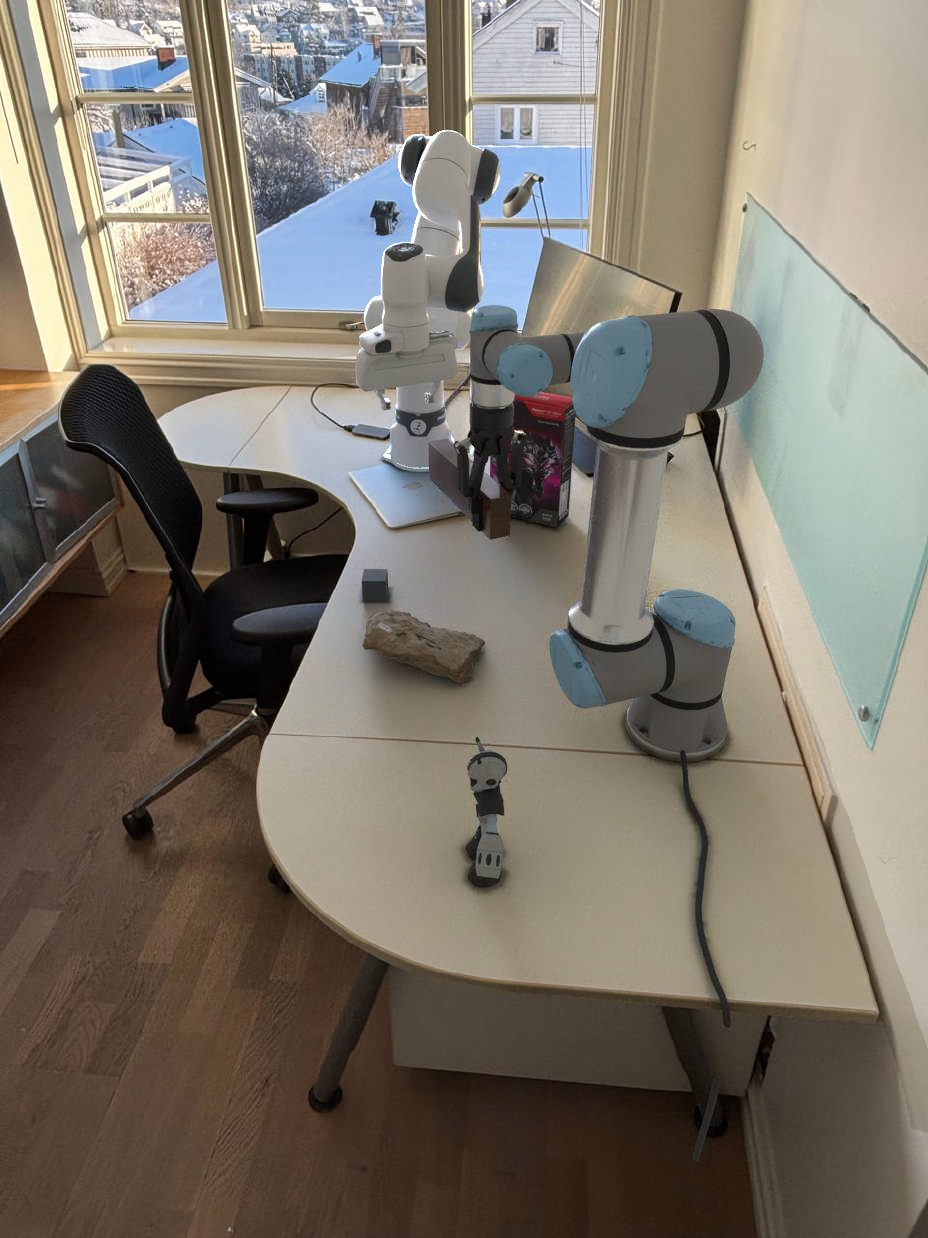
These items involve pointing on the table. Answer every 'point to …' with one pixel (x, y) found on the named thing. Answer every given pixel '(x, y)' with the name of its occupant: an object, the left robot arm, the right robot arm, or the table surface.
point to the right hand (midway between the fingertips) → (488, 525)
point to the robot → (486, 816)
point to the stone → (423, 644)
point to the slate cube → (375, 585)
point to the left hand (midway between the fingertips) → (408, 405)
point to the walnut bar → (492, 493)
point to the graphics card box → (543, 458)
